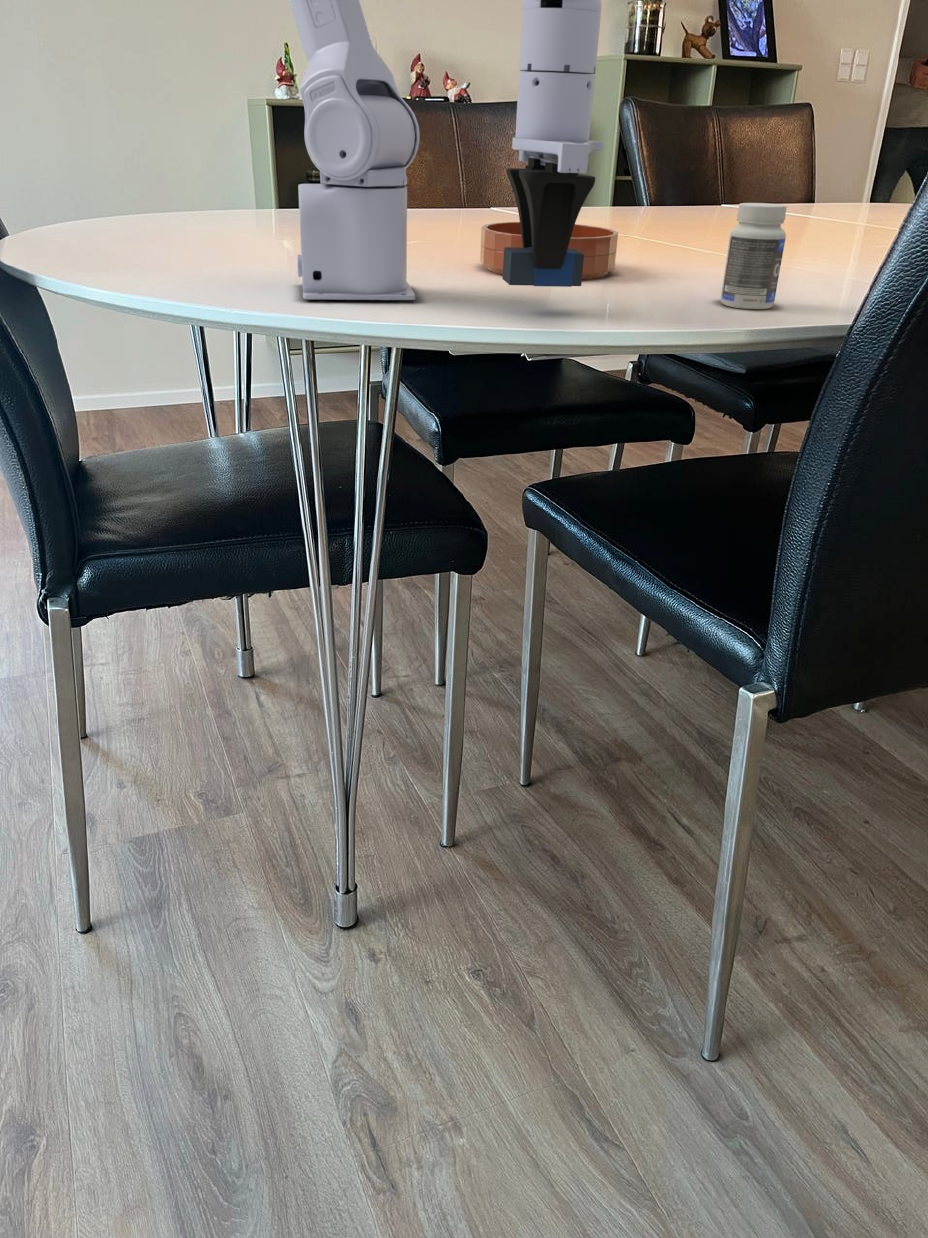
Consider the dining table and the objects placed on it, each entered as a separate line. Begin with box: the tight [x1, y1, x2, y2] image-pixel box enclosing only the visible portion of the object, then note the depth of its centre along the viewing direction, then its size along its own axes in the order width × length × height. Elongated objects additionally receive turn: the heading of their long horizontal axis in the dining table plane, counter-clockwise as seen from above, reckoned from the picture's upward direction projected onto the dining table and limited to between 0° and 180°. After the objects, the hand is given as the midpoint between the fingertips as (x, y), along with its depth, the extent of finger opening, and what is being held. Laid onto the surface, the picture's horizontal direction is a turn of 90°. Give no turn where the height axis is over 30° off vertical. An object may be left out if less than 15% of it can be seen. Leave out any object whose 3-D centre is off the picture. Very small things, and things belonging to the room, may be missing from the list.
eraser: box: [502, 247, 584, 288], centre depth 78 cm, size 6×3×3 cm, turn 99°
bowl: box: [479, 221, 619, 281], centre depth 100 cm, size 14×14×4 cm
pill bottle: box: [720, 202, 787, 310], centre depth 85 cm, size 5×5×8 cm
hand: (542, 264), depth 78 cm, fingers closed on eraser, 3 cm apart
